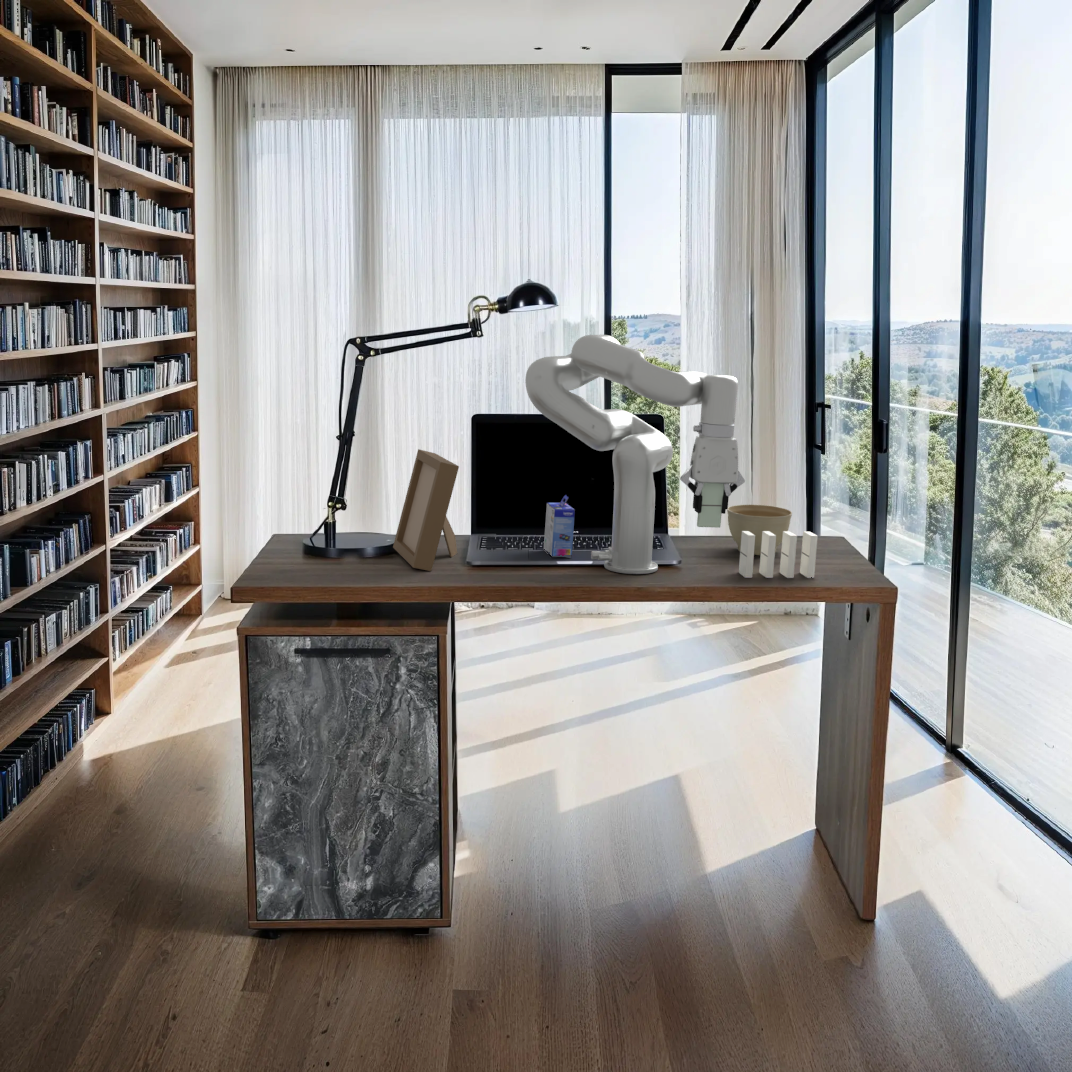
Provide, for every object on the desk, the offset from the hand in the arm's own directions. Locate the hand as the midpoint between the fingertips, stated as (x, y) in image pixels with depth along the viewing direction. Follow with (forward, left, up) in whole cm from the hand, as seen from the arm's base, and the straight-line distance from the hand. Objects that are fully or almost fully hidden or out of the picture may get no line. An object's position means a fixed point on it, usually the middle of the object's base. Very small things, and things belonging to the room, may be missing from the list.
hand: (709, 511), depth 255 cm
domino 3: (+16, +6, -16) cm, 24 cm away
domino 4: (+21, +6, -16) cm, 27 cm away
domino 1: (0, 0, -4) cm, 4 cm away
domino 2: (+11, +6, -16) cm, 20 cm away
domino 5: (+26, +6, -16) cm, 31 cm away
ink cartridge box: (-30, +27, -16) cm, 43 cm away
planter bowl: (+22, +31, -16) cm, 41 cm away
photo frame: (-61, +20, -16) cm, 66 cm away
